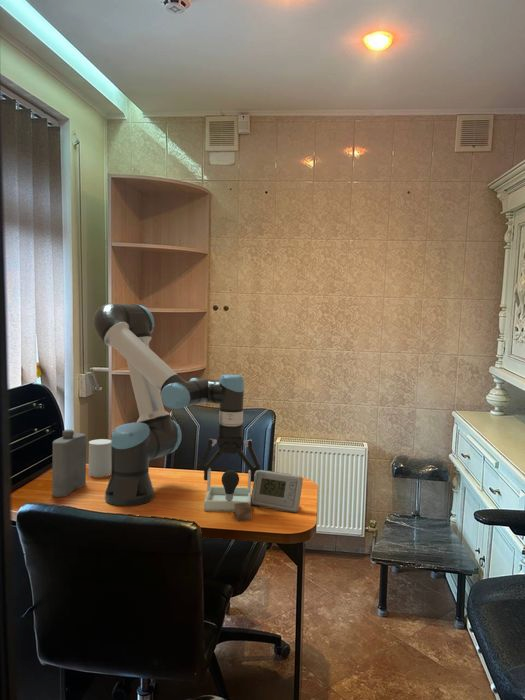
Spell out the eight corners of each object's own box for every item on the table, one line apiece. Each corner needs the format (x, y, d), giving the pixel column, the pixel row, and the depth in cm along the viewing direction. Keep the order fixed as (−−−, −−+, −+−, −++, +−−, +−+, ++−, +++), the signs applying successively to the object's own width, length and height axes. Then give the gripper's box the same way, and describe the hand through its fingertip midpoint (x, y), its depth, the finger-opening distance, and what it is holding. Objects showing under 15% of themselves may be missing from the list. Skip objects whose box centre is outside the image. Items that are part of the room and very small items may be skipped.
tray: (204, 510, 158) (204, 501, 158) (208, 495, 172) (209, 486, 172) (250, 512, 158) (250, 502, 158) (251, 496, 172) (251, 487, 172)
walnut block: (238, 522, 151) (238, 508, 151) (234, 516, 155) (234, 503, 154) (251, 520, 152) (251, 507, 152) (247, 515, 156) (247, 502, 156)
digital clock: (247, 505, 165) (248, 472, 164) (263, 497, 172) (264, 465, 172) (291, 517, 156) (293, 482, 155) (306, 508, 163) (307, 475, 163)
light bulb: (238, 499, 168) (240, 468, 167) (236, 505, 162) (238, 473, 162) (221, 497, 169) (223, 467, 168) (218, 503, 163) (220, 472, 162)
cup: (106, 469, 197) (106, 438, 196) (115, 474, 191) (115, 442, 190) (84, 473, 192) (85, 441, 191) (93, 478, 186) (94, 445, 185)
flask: (73, 482, 181) (73, 425, 180) (88, 483, 180) (89, 426, 179) (46, 496, 167) (46, 434, 165) (62, 498, 165) (63, 436, 164)
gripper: (190, 425, 160) (188, 493, 161) (269, 427, 160) (267, 496, 161) (193, 420, 168) (192, 485, 169) (269, 422, 168) (267, 488, 169)
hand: (228, 490), depth 165 cm, fingers open, 12 cm apart
